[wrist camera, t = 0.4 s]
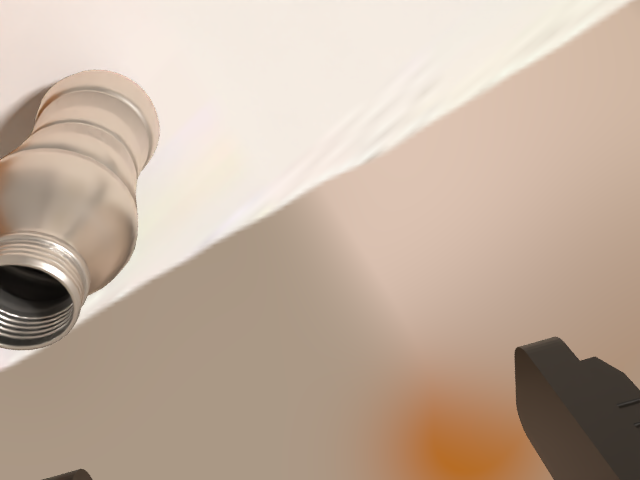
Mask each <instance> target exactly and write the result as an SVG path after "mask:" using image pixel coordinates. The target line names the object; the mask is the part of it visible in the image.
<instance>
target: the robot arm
mask: <svg viewBox="0 0 640 480" xmlns="http://www.w3.org/2000/svg"><path fill="white" fill-rule="evenodd" d="M515 379H516V380H515V381H516V405H517V411H518V415H519V418H520V421H521V424H522V426H523V429H524V431H525V433H526V435H527V437H528V438H529V440H530V442H531V443H532V445H533V446H534V448H535V450H536V451H537V453H538V455H539V456H540V458H541V460H542V461H543V463H544V464H545V466H546V468H547V469H548V471H549V472H550V474H551V476H552V477H553V479H554V480H640V390H639V389H638V388H637V387H636V386H635V385H634V384H633V382H632V381H631V380H630V379H629V378H628V377H627V376H626V375H625V374H624V373H623V372H621V371H619V370H618V369H616V368H614V367H612V366H611V365H609V364H607V363H605V362H604V361H602V360H600V359H598V358H596V357H592V358H589V359H585V360H582V361H580V360H579V359H578V358H577V357H576V356H575V355H574V353H573V352H572V351H571V350H570V349H569V347H568V346H567V345H566V344H565V343H564V342H563V341H562V340H561V339H560V338H558V337H552V338H549V339H545V340H542V341H538V342H535V343H531V344H528V345H524V346H520V347H517V348H516V350H515ZM43 480H92V478H91V477H90V475H89V474H88V473H87V472H86V471H85V470H84V469H79V470H76V471H72V472H68V473H65V474H61V475H58V476H54V477H51V478H47V479H43Z"/></svg>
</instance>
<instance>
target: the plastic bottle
mask: <svg viewBox="0 0 640 480" xmlns="http://www.w3.org/2000/svg"><path fill="white" fill-rule="evenodd" d="M159 136H160V125H159V121H158V116H157V113H156V110H155V107H154V105H153V103H152V101H151V99H150V98H149V96H148V95H147V94H146V92H145V91H144V90H143V89H142V88H141V87H140V86H139V85H138V84H137V83H135V82H134V81H132V80H131V79H129V78H128V77H125V76H123V75H121V74H118V73H115V72H111V71H107V70H88V71H82V72H79V73H76V74H73V75H71V76H68V77H66V78H64V79H62V80H61V81H59V82H57V83H56V84H55V85H54V86H52V87H51V88H50V89H49V90H48V91H47V93H46V94H45V96H44V97H43V99H42V101H41V104H40V106H39V109H38V112H37V115H36V118H35V126H34V129H33V131H32V133H31V135H30V136H29V137H28V138H27V140H26V141H24V142H23V143H22V145H21V146H20V147H18V148H17V149H15V150H14V151H12V152H11V153H9V154H8V155H6V156H5V157H3V158H2V159H0V347H1V348H5V349H11V350H33V349H38V348H43V347H46V346H49V345H52V344H53V343H55V342H57V341H59V340H61V339H62V338H63V337H64V336H66V335H67V334H68V333H69V332H70V330H71V329H72V328H73V326H74V325H75V323H76V321H77V319H78V317H79V314H80V310H81V307H82V306H83V305H84V302H85V300H86V298H87V296H88V295H91V294H93V293H95V292H96V291H98V290H100V289H102V288H103V287H105V286H106V285H107V284H108V283H109V282H111V281H112V280H113V279H114V278H115V277H116V276H117V275H118V274H119V272H120V271H121V270H122V269H123V268H124V266H125V265H126V264H127V263H128V261H129V260H130V258H131V256H132V254H133V251H134V249H135V245H136V240H137V232H138V213H137V204H136V186H137V179H138V176H139V174H140V172H141V171H142V170H143V169H144V168H145V166H146V165H147V164H148V162H149V161H150V159H151V158H152V156H153V154H154V152H155V150H156V148H157V146H158V141H159Z"/></svg>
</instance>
